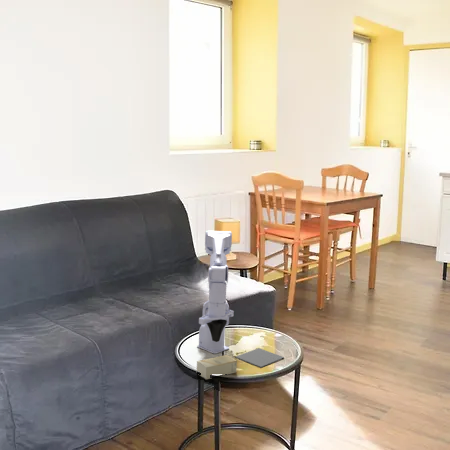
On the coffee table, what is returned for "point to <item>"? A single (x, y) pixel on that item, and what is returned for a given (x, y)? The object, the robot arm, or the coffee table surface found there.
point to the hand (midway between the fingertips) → (215, 340)
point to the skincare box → (217, 366)
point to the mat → (259, 357)
